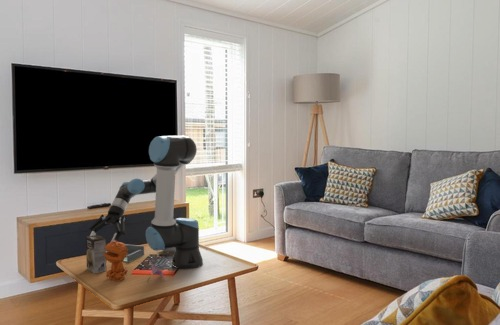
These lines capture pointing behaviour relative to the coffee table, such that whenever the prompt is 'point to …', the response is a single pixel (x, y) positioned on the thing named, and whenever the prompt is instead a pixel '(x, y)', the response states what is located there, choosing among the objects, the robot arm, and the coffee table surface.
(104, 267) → the coffee box
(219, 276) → the coffee table surface
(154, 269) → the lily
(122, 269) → the orange figurine
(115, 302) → the coffee table surface
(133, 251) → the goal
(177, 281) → the coffee table surface
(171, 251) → the teacup
